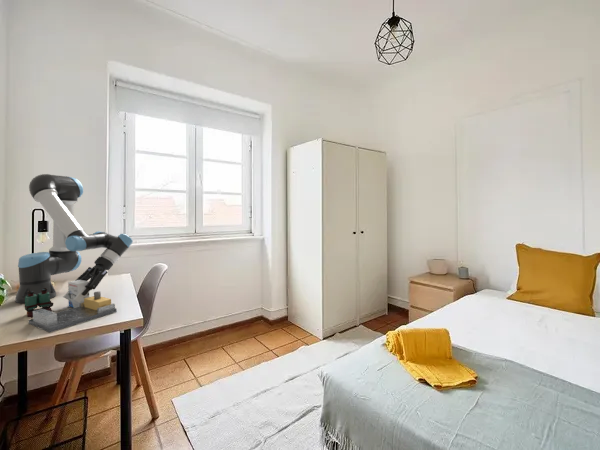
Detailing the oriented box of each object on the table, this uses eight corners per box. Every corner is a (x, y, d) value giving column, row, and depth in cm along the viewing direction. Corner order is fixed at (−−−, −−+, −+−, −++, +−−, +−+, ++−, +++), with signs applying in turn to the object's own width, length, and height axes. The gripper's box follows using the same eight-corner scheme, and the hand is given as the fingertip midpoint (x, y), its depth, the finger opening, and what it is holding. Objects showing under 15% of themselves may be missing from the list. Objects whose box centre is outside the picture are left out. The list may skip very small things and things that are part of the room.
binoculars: (27, 296, 113) (22, 290, 119) (28, 321, 114) (23, 313, 120) (55, 291, 120) (49, 285, 126) (56, 314, 122) (50, 307, 127)
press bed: (28, 323, 110) (27, 310, 109) (94, 305, 131) (94, 294, 130) (49, 332, 101) (48, 317, 101) (116, 311, 122) (116, 299, 122)
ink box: (68, 306, 130) (67, 282, 129) (80, 303, 134) (79, 279, 134) (78, 309, 126) (77, 283, 126) (90, 305, 131) (89, 281, 130)
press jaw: (84, 306, 124) (83, 291, 124) (96, 303, 129) (96, 289, 128) (99, 311, 119) (98, 295, 118) (111, 307, 123) (110, 292, 123)
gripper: (124, 266, 138) (89, 307, 125) (101, 262, 148) (66, 300, 134) (113, 257, 133) (75, 299, 120) (89, 254, 143) (52, 292, 130)
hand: (70, 299), depth 127 cm, fingers closed on ink box, 9 cm apart
